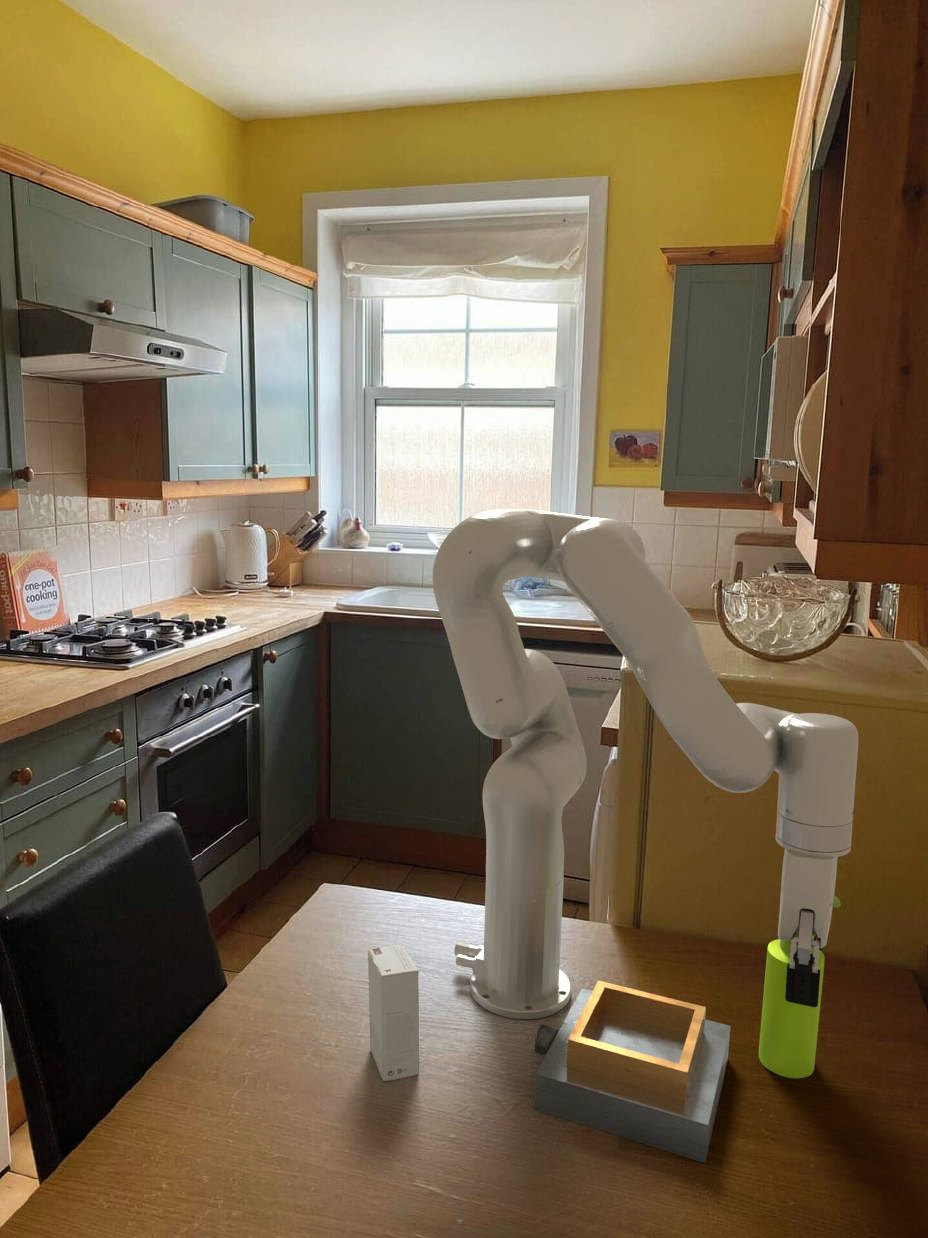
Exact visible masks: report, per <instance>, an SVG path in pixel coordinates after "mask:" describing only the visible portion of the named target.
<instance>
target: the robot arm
mask: <svg viewBox="0 0 928 1238" xmlns="http://www.w3.org/2000/svg"><path fill="white" fill-rule="evenodd" d="M644 545H645V544H644V542H643V540H642V537H641V536H640V535H639V533H638V531H636V530H635V528H633V526H631V525H629V524H628V523H627V522H624V521H621V520H620V519H614V518H607V517H606V518H603V517H593V516H592V517H591V516H586V515H585V516H582V515H576V514H575V515H574V514H570V513H569V514H567V513H560V512H551V511H547V510H546V511H545V510H537V509H527V508H515V509H491V510H485V511H481V512H478V513H475V514H473V515H470V516H469V517H467V518H465V519H464V520H462V521H460V522H459V523H458V524H457V525H456V526H455V527H453V529H451V531H449V533H448V534H447V536H446V537H445V538H444V540H442V542H441V545H440V547H439V548H438V551H437V553H436V556H435V558H434V563H433V566H432V588H433V594H434V599H435V603H436V605H437V606H436V607H437V609H438V611H439V615H440V618H441V621H442V623H443V624H442V625H443V626H444V629H445V632H446V636H447V640H448V642H449V646H450V650H451V655H452V658H453V661H454V665H455V668H456V669H455V670H456V672H457V675H458V678H459V681H460V685H461V689H462V692H463V695H464V699H465V702H466V703H465V704H466V707H467V710H468V713H469V715H470V718H471V721H472V723H473V724H474V725H475V726H476V728H477V729H478V730H479V731H480V732H481V733H482V734H483V735H484V736H487V737H489V738H491V739H495V740H505V739H510V743H511V747H510V748H509V749H507V750H506V751H504V752H503V753H502V754H501V755H500V756H499V757H498V758H497V759H496V760H495V761H494V762H493V764H492V765H491V767H490V768H489V770H488V772H487V774H486V776H485V778H484V782H483V787H482V807H483V816H484V825H485V839H486V840H485V841H486V842H485V844H486V849H485V850H486V851H485V853H486V855H485V856H486V857H485V897H484V898H485V899H484V902H485V903H484V924H483V925H484V927H483V928H484V930H483V932H484V933H483V943H480V944H479V945H476V944H473V943H472V942H467V941H463V940H459V939H458V940H457V941H456V943H455V945H454V952H453V953H454V956H456V958H455V959H456V960H455V964H456V966H459V967H463V968H469V969H472V971H473V972H472V973H471V976H470V980H469V981H470V983H469V988H470V990H469V991H470V994H471V996H472V998H473V999H474V1000H475V1002H476V1003H478V1004H479V1005H480V1007H482V1008H483V1009H486V1010H487V1011H489V1012H491V1013H493V1014H496V1015H498V1016H502V1017H504V1018H511V1019H516V1020H517V1019H518V1020H519V1019H520V1020H531V1019H532V1020H534V1019H535V1020H536V1019H540V1018H545V1017H549V1016H551V1015H554V1014H556V1013H558V1012H559V1011H561V1010H562V1009H563V1008H564V1007H566V1006H567V1004H568V1003H569V1001H570V999H571V996H572V995H571V994H572V984H571V980H570V979H569V977H568V976H567V974H566V973H565V972H564V971H563V970H562V969H560V968H561V967H560V961H561V946H562V945H561V944H562V943H561V942H562V941H561V940H562V920H563V918H562V917H563V901H564V900H563V899H564V880H565V879H564V878H565V877H564V871H565V868H564V867H565V842H564V832H563V825H562V823H563V822H562V821H563V820H562V817H563V816H562V815H563V811H564V807H565V806H566V805H567V804H568V802H570V800H571V798H572V797H574V796H575V794H576V793H577V792H578V790H580V788H581V786H583V785H582V784H583V782H584V781H585V778H586V775H587V770H588V769H587V767H588V765H587V764H588V763H587V755H586V749H585V747H584V746H585V745H584V743H583V739H582V736H581V733H580V729H579V726H578V722H577V720H576V719H577V718H576V716H575V715H576V714H575V712H574V710H573V706H572V702H571V699H570V696H569V692H568V689H567V686H566V683H565V680H564V678H563V676H562V674H561V672H560V670H559V669H558V667H557V665H556V664H555V663H554V662H553V661H552V660H551V658H549V657H548V656H546V655H545V654H544V653H542V652H540V651H538V650H534V649H530V648H525V647H524V644H523V640H522V638H521V634H520V631H519V626H518V623H517V619H516V617H515V615H514V612H513V610H512V609H511V607H510V606H511V605H510V604H509V603H508V601H507V599H506V598H505V595H504V591H503V590H504V589H503V587H504V585H505V584H506V583H507V582H509V581H511V580H512V581H513V580H518V579H521V578H524V577H530V578H539V579H545V580H553V581H559V582H564V583H565V585H566V586H567V588H568V589H569V590H570V592H571V593H573V595H574V596H575V598H577V600H578V601H579V603H580V604H581V605H582V606H583V607H584V609H585V610H586V612H587V613H589V614H590V616H591V617H592V618H593V620H594V621H595V622H596V623H597V625H598V626H599V627H600V628H601V629H602V631H603V632H604V633H605V635H606V636H608V638H609V639H610V640H611V642H612V643H613V645H614V646H615V647H616V648H617V649H618V651H619V653H621V654H622V656H623V657H624V658H625V660H626V661H627V663H629V665H630V667H631V668H632V671H633V674H634V676H635V678H636V681H637V682H638V684H639V686H640V687H641V689H642V691H643V693H644V694H645V696H646V698H647V700H648V702H649V704H650V706H651V707H652V709H653V711H654V713H655V714H656V716H657V718H658V720H660V723H662V725H663V727H664V729H665V730H666V731H667V732H668V734H669V736H670V737H671V738H672V739H673V741H674V742H675V743H676V744H677V746H678V747H679V748H680V749H681V751H682V752H683V753H684V754H685V756H686V757H687V758H688V760H689V761H691V763H692V765H693V766H695V768H696V769H697V770H698V772H700V774H702V776H703V777H704V778H706V779H707V781H708V782H710V783H712V784H713V785H714V786H716V787H718V788H719V789H721V790H723V791H727V792H729V793H736V794H741V793H743V794H744V793H749V792H752V791H755V790H756V789H759V788H760V787H762V786H763V785H765V784H766V782H767V781H768V780H769V779H770V778H771V776H772V773H773V771H774V772H776V773H777V775H778V791H777V804H776V805H777V807H776V808H777V810H776V825H775V841H776V843H777V844H778V845H779V846H781V847H782V848H784V854H783V859H782V869H781V870H782V871H781V885H780V899H779V914H778V929H777V937H778V939H780V940H781V941H784V940H788V941H789V940H790V939H791V953H790V964H789V963H787V977H786V993H785V999H786V1001H788V1002H791V1003H796V1004H801V1005H805V1006H810V1007H817V1006H818V997H819V982H820V970H819V969H818V958H819V950H820V951H821V952H822V948H824V947H826V946H827V943H828V942H827V941H828V938H829V937H828V936H829V931H830V926H831V920H832V915H833V908H834V907H833V901H834V896H835V893H836V892H835V891H836V890H835V889H836V881H837V869H838V858H839V857H842V856H846V855H848V854H849V853H850V852H851V850H852V837H853V823H854V822H853V821H854V808H855V807H854V806H855V795H856V792H855V791H856V778H857V769H858V768H857V767H858V765H857V764H858V751H859V732H858V729H857V726H855V724H854V723H853V722H852V721H850V720H848V719H846V718H844V717H840V716H838V715H834V714H829V713H819V712H818V713H816V712H806V713H805V712H804V713H796V712H791V711H786V710H782V709H779V708H774V707H770V706H768V705H767V706H766V705H763V704H757V703H754V702H753V703H752V702H738V703H736V702H735V701H734V699H733V698H732V697H731V696H730V695H729V693H728V692H727V691H726V689H725V688H724V687H723V685H722V684H721V682H720V681H719V680H718V677H716V674H714V672H713V669H712V668H711V667H710V665H709V663H708V660H707V659H706V656H705V654H704V652H703V647H702V644H701V639H700V636H699V632H698V629H697V626H696V624H695V622H694V620H693V618H692V616H691V615H690V613H689V612H688V611H687V609H686V608H685V607H684V606H683V604H681V603H680V601H679V599H677V598H676V596H675V595H674V594H673V593H672V592H671V590H670V589H669V588H668V587H667V586H666V585H665V583H664V582H663V581H662V580H661V579H660V577H659V576H658V575H657V574H656V572H655V571H654V570H653V569H652V567H651V566H650V565H649V564H648V562H647V561H646V548H645V546H644ZM800 915H801V919H800ZM796 929H797V933H799V937H796ZM812 936H814V940H812ZM791 937H792V938H791ZM797 945H798V951H796V946H797ZM811 948H814V954H811Z"/></svg>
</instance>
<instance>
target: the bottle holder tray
mask: <svg viewBox="0 0 928 1238" xmlns="http://www.w3.org/2000/svg"><path fill="white" fill-rule="evenodd" d="M706 1009H707V1007H706V1006H704V1005H699V1004H695V1003H691V1002H687V1001H683V1000H680V999H679V1000H678V999H676V998H670V997H667V996H663V995H658V994H655V993H650V992H646V991H643V990H639V989H635V988H630V987H626V986H623V985H618V984H614V983H610V982H606V981H603V980H598V981H597V983H596V984H595V986H594V988H593V990H592V989H591V990H590V989H587V988H583V987H582V988H581V989H580V991H579V993H578V995H577V997H576V999H575V1001H574V1002H573V1004H572V1006H571V1008H570V1009H569V1011H568V1012H567V1013H568V1014H567V1015H566V1017H565V1019H564V1021H563V1023H562V1024H561V1026H560V1028H558V1027H554V1026H550V1025H546V1024H544V1023H541V1024H540V1025H539V1027H538V1028H537V1032H536V1036H535V1042H534V1052H535V1053H536V1054H538V1055H542V1056H544V1057H543V1059H542V1061H541V1063H540V1065H539V1067H538V1069H537V1071H536V1072H535V1084H534V1106H533V1107H534V1108H533V1110H535V1111H538V1112H541V1113H545V1114H548V1115H551V1116H554V1117H557V1118H561V1119H563V1120H566V1121H569V1122H572V1123H576V1124H580V1125H583V1126H586V1127H589V1128H592V1129H594V1130H598V1131H601V1132H605V1133H608V1134H611V1135H614V1136H617V1137H621V1138H623V1139H627V1140H629V1141H630V1140H631V1141H633V1142H636V1143H640V1144H642V1145H647V1146H649V1147H653V1148H656V1149H659V1150H662V1151H666V1152H668V1153H672V1154H675V1155H678V1156H681V1157H685V1158H688V1159H691V1160H694V1161H696V1162H701V1163H703V1164H706V1160H707V1158H708V1157H707V1156H708V1152H709V1147H710V1142H711V1138H712V1135H713V1134H712V1133H713V1129H714V1125H715V1120H716V1115H717V1109H718V1107H719V1101H720V1098H721V1097H720V1096H721V1092H722V1088H723V1083H724V1077H725V1073H726V1069H727V1064H728V1059H729V1048H730V1036H731V1025H729V1024H725V1023H720V1022H716V1021H713V1020H709V1019H706V1012H707V1011H706Z"/></svg>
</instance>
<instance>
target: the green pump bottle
mask: <svg viewBox="0 0 928 1238" xmlns="http://www.w3.org/2000/svg"><path fill="white" fill-rule="evenodd" d="M841 906H842V903H841V901H840V899H839V897H838V896H836V895H834V901H833V908H836V909H837V908H840V907H841ZM800 919H801V915H800ZM796 937H799V933H797V929H796ZM791 938H792V937H791ZM812 940H814V936H812ZM766 950H767V951H766V961H765V972H764V973H765V975H764V984H763V996H762V997H763V998H762V1009H761V1020H760V1030H759V1031H760V1032H759V1044H758V1045H759V1046H758V1059H759V1061H760V1063H761V1064H762V1066H764V1067H765V1068H766V1069H767V1070H768V1071H770V1072H772V1073H774V1074H776V1075H778V1076H781V1077H784V1078H789V1079H804V1078H807V1077H809V1076H811V1075H812V1074H813V1073H814V1071H815V1064H816V1054H817V1044H818V1032H819V1021H820V1013H821V1012H820V1011H821V1003H822V1002H821V1001H822V993H823V992H822V990H823V982H824V971H825V970H824V969H825V955H824V953H823V952H822V950H821V951H820V950H819V958H818V969H819V970H820V982H819V997H818V1006H817V1007H810V1006H805V1005H801V1004H796V1003H791V1002H788V1001H786V999H785V993H786V977H787V963H789V964H790V953H791V939H790V940H789V941H788V940H784V941H781V940H780V939H779V938H777V939H773V940H772V941H770V942H769V943H768V944H767V949H766ZM796 951H798V945H797V946H796ZM811 954H814V948H811Z"/></svg>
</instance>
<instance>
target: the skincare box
mask: <svg viewBox="0 0 928 1238" xmlns="http://www.w3.org/2000/svg"><path fill="white" fill-rule="evenodd" d="M367 953H368V954H367V964H368V965H367V969H368V970H367V973H368V977H367V978H368V1006H369V1007H368V1009H369V1011H368V1015H369V1020H368V1021H369V1048H370V1052H371V1054H372V1057H373V1059H374V1062H375V1065H376V1067H377V1070H378V1072H379V1074H380V1077H381V1080H382V1081H383V1082H388V1081H395V1080H400V1079H405V1078H410V1077H414V1076H418V1075H419V1073H420V1009H419V1008H420V1007H419V1003H420V997H419V996H420V995H419V994H420V993H419V974H420V973H419V972H420V971H419V969H418V967H417V966H416V965H415V962H414V961H413V959H412V958H411V956H410V954H409V953H408V951H407V949H406V948H405V946H404V944H402V943H401V944H394V945H388V946H382V947H378V948H377V947H376V948H371V949H369V950H368V951H367Z"/></svg>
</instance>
